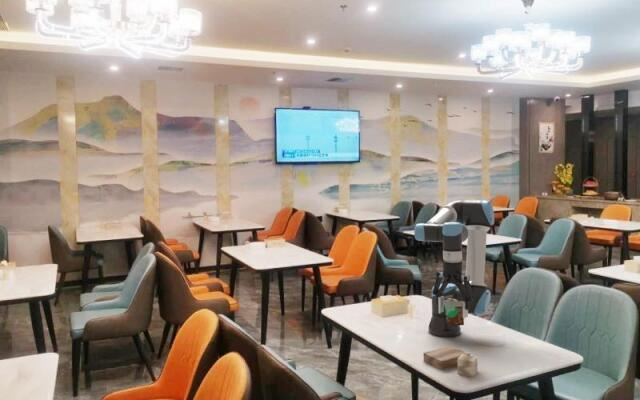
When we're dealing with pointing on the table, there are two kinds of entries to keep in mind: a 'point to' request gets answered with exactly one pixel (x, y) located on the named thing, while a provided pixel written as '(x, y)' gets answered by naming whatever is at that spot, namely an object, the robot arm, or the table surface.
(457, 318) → the food container
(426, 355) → the base block
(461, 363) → the cream cube
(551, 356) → the table surface
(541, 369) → the table surface
